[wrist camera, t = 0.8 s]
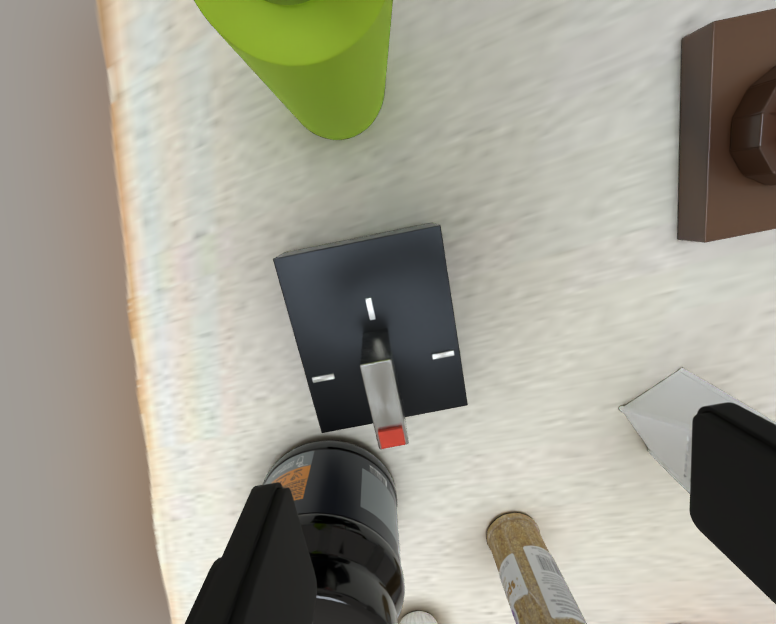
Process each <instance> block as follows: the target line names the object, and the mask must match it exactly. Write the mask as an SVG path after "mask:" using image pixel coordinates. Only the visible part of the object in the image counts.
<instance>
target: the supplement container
mask: <svg viewBox="0 0 776 624" xmlns="http://www.w3.org/2000/svg"><path fill="white" fill-rule="evenodd" d="M276 482H279V483H281V484H282V486H283V488H286V487H288V488H290V490H291V493H292V496H293V499H294V503H295V506H296V510H297V513H298V517H299V520H300V524H301V527H302V531H303V534H304V538H305V541H306V545H307V548H308V552H309V555H310V559H311V562H312V565H313V569H314V572H315V576H316V582H317V597H316V604H315V610H314V617H313V624H398V617H399V615H400V612H401V609H402V606H403V602H404V594H405V585H404V576H403V571H402V567H401V561H400V547H399V533H398V519H397V494H396V488H395V485H394V482H393V479H392V477H391V475H390V473H389V471H388V470H387V468H386V467H385V466H384V464H383V463H382V462H381V461H380V460H379V459H378V458H377V457H375V456H374V455H373V454H372V453H370V452H369V451H367V450H365V449H363V448H361V447H359V446H357V445H354V444H351V443H347V442H342V441H332V440H326V441H316V442H311V443H308V444H304V445H302V446H299V447H297V448H295V449H293V450H291V451H290V452H288V453H287V454H285V455H284V456H283V457H282V458H281V459H279V460H278V461H277V462H276V464H275V465H274V466H273V467H272V468H271V470H270V471H269V473H268V475H267V476H266V478H265V480H264V483H263V485H265V484H270V483H276Z"/></svg>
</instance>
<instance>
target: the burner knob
mask: <svg viewBox="0 0 776 624" xmlns="http://www.w3.org/2000/svg"><path fill="white" fill-rule="evenodd" d="M360 369H361V373H362V377H363V381H364V386H365V390H366V394H367V398H368V403H369V407H370V411H371V415H372V420H373V424H374V428H375V432H376V437H377V441H378V445H379V449H385V448H390V447H395V446H400V445H406V444H408V443H409V442H408V435H407V428H406V421H405V414H404V407H403V400H402V394H401V390H400V385H399V380H398V375H397V370H396V365H395V360H394V356H393V351H392V346H391V341H390V336H389V331H388V328H384V329H379V330H374V331H369V332H364V333H363V337H362V348H361V359H360Z"/></svg>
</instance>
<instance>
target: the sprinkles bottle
mask: <svg viewBox="0 0 776 624" xmlns="http://www.w3.org/2000/svg"><path fill="white" fill-rule="evenodd" d="M487 544H488V546H489V548H490V550H491V551H492V554H493V557H494V559H495V563H496V566H497V568H498V571H499V575H500V579H501V582H502V585H503V588H504V591H505V594H506V597H507V599H508V602H509V605H510V608H511V611H512V613H513V616H514V619H515V622H516V624H587V623H586V621H585V619H584V617H583V615H582V613H581V611H580V609H579V607H578V605H577V603H576V601H575V600H574V598H573V596H572V594H571V592H570V590H569V588H568V586H567V584H566V582H565V580H564V578H563V576H562V574H561V572H560V570H559V568H558V566H557V564H556V562H555V560H554V559H553V557H552V555H551V554H550V553H549V551H548V549H547V547H546V545H545V543H544V541H543V539H542V537H541V535H540V530H539V528H538V525H537V524H536V523H535V521H534V520H533V519H531V518H530V517H529V516H527V515H524V514H520V513H511V514H506V515H502V516H501V517H499V518H497V519H496V520H495V521H494V522H493V523H492V524H491V525H490V527H489V529H488V531H487Z"/></svg>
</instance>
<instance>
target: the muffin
mask: <svg viewBox="0 0 776 624" xmlns="http://www.w3.org/2000/svg"><path fill="white" fill-rule="evenodd" d="M400 624H438V623H437V621H436V620H435V618H434V617H433V616H432V615H430V613H426V612H423V611H415V612H411V613H409V614H406V616H404V617H403V618H402V620H401V621H400Z"/></svg>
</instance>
